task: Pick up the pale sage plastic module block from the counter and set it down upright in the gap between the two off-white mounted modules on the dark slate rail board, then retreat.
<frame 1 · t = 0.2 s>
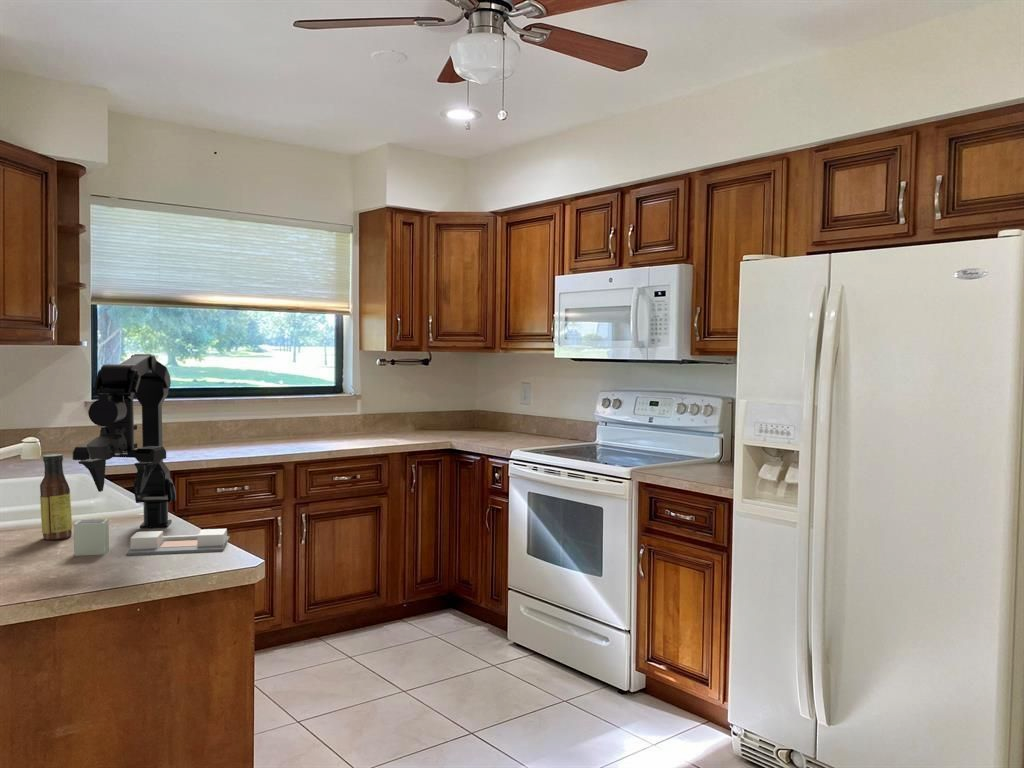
hand: (120, 492, 174), 14 cm above the worktop, fingers open, 9 cm apart
rail board: (180, 546, 181), on the worktop
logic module: (91, 552, 175), on the worktop
sauce bottle: (56, 538, 188), on the worktop
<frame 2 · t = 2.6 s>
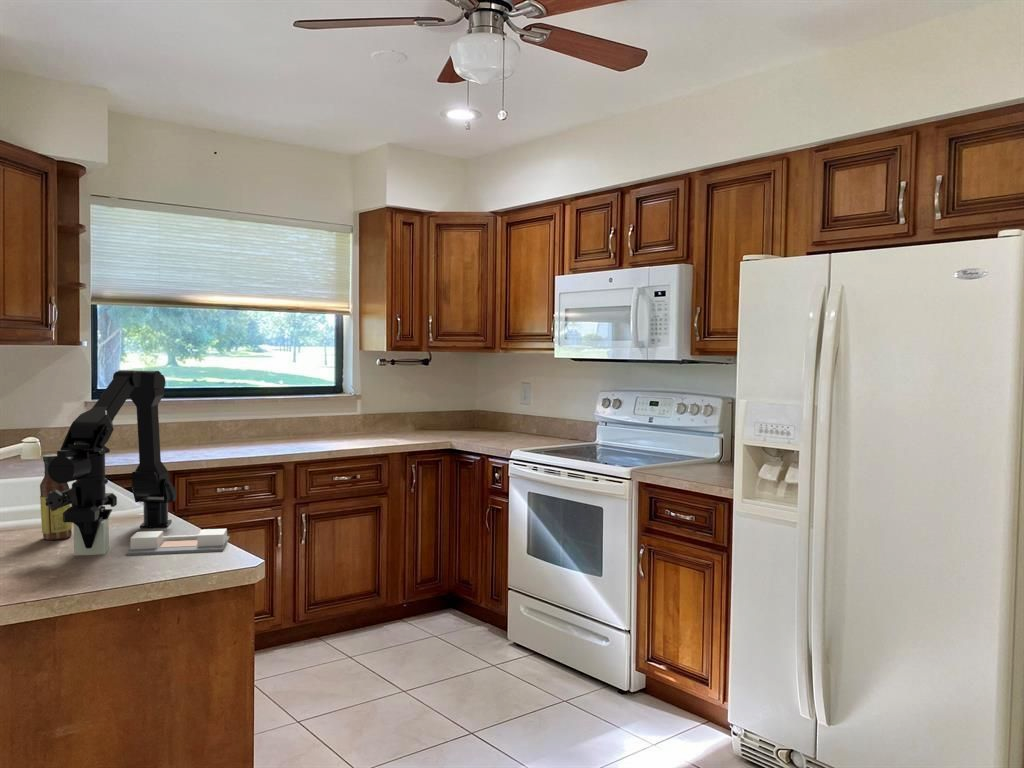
hand: (91, 545, 175), 2 cm above the worktop, fingers closed on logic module, 4 cm apart
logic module: (91, 552, 175), on the worktop, touching gripper
everything else where it was.
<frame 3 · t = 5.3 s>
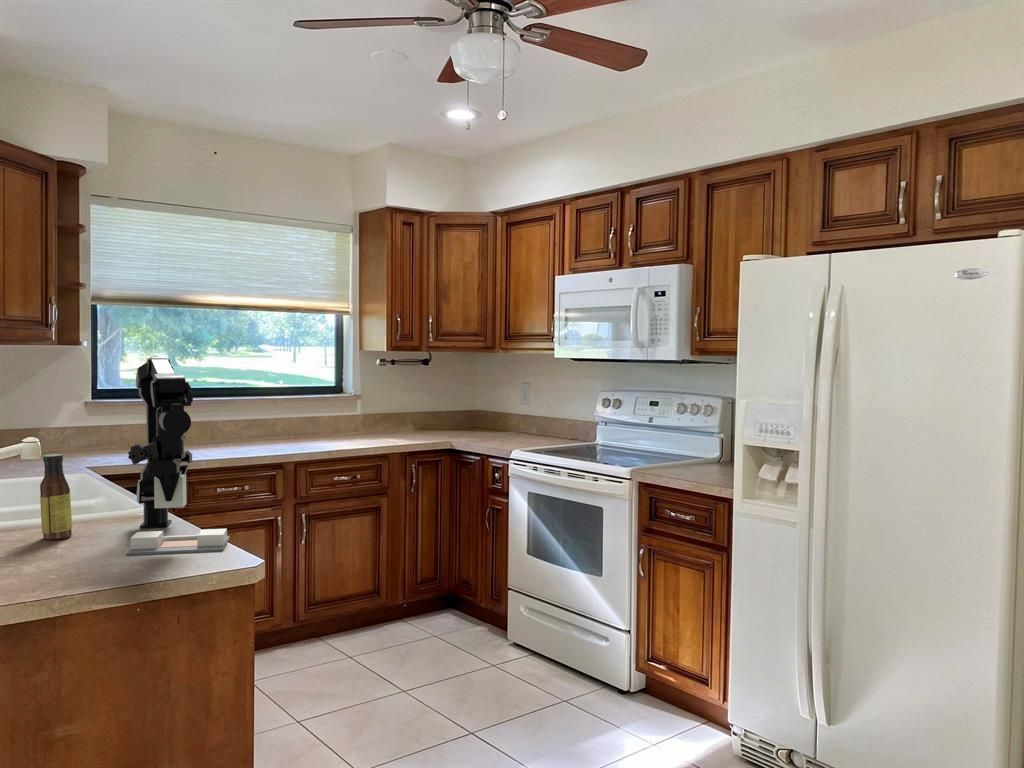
hand: (170, 499, 180), 11 cm above the worktop, fingers closed on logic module, 4 cm apart
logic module: (170, 506, 180), point 9 cm above the worktop, touching gripper
everything else where it was.
when the fingers open (3 cm above the worktop, at t = 8.0 s): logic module drops 1 cm, resting on rail board.
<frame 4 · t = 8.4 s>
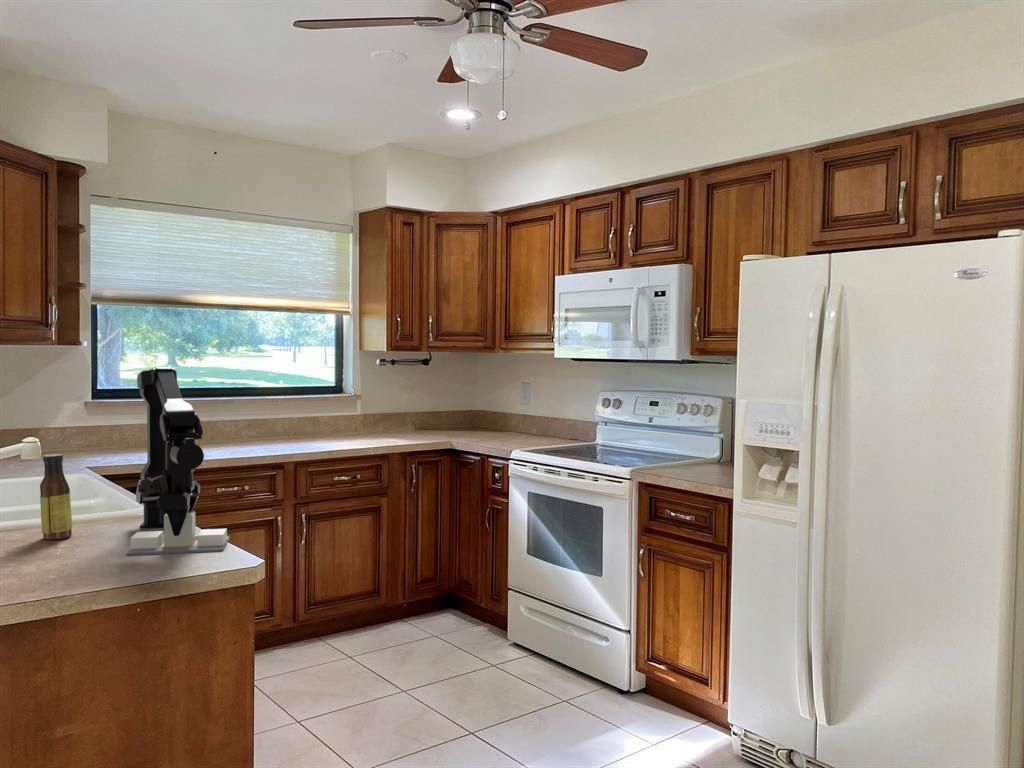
hand: (179, 531, 181), 3 cm above the worktop, fingers open, 8 cm apart
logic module: (180, 543, 181), point 1 cm above the worktop, touching rail board
everything else where it was.
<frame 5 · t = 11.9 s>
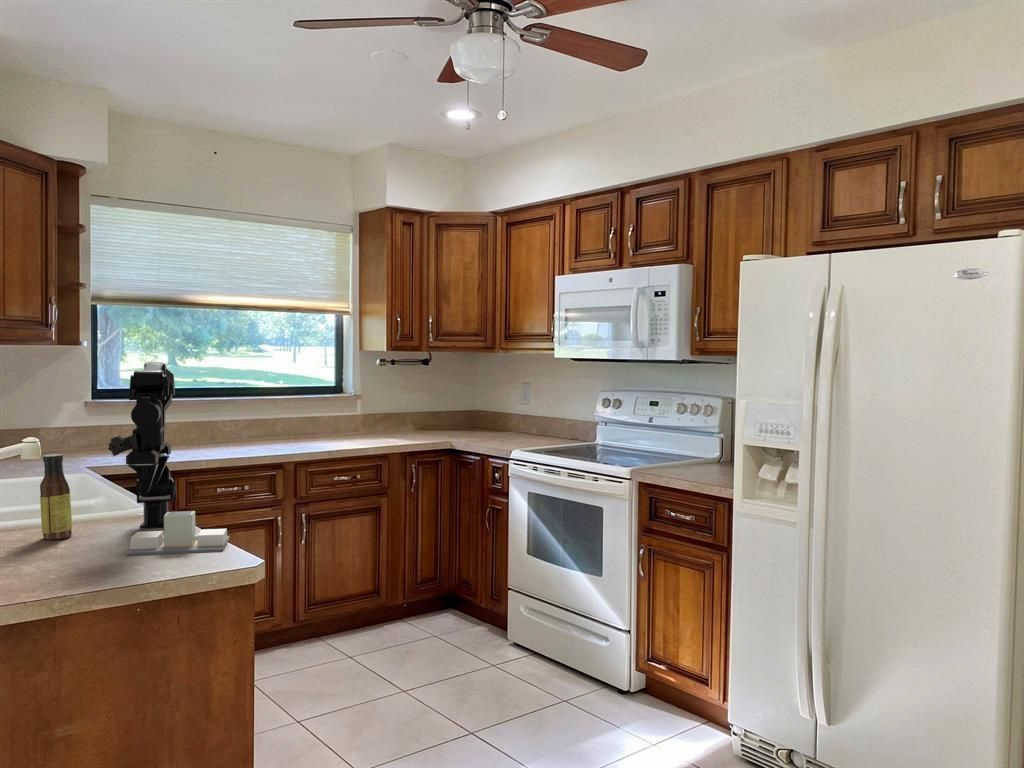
hand: (149, 489, 187), 12 cm above the worktop, fingers open, 9 cm apart
nothing on the worktop moved.
at the end: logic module 0.0 cm off-centre on the rail board, point 0.7 cm above the rail board's base; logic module tilted 0°; the gripper is holding nothing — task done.
